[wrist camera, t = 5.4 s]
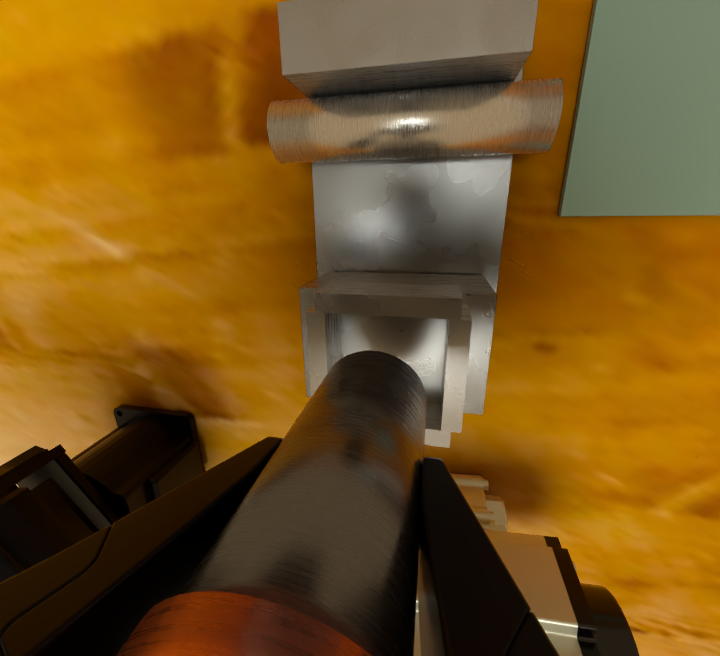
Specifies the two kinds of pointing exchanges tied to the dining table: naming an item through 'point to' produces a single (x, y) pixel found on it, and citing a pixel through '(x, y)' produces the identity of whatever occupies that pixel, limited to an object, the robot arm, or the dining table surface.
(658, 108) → the mat
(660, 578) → the dining table surface
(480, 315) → the bracket
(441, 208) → the clamp base
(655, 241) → the dining table surface
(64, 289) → the dining table surface
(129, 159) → the dining table surface
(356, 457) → the round metal peg
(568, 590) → the pneumatic valve
